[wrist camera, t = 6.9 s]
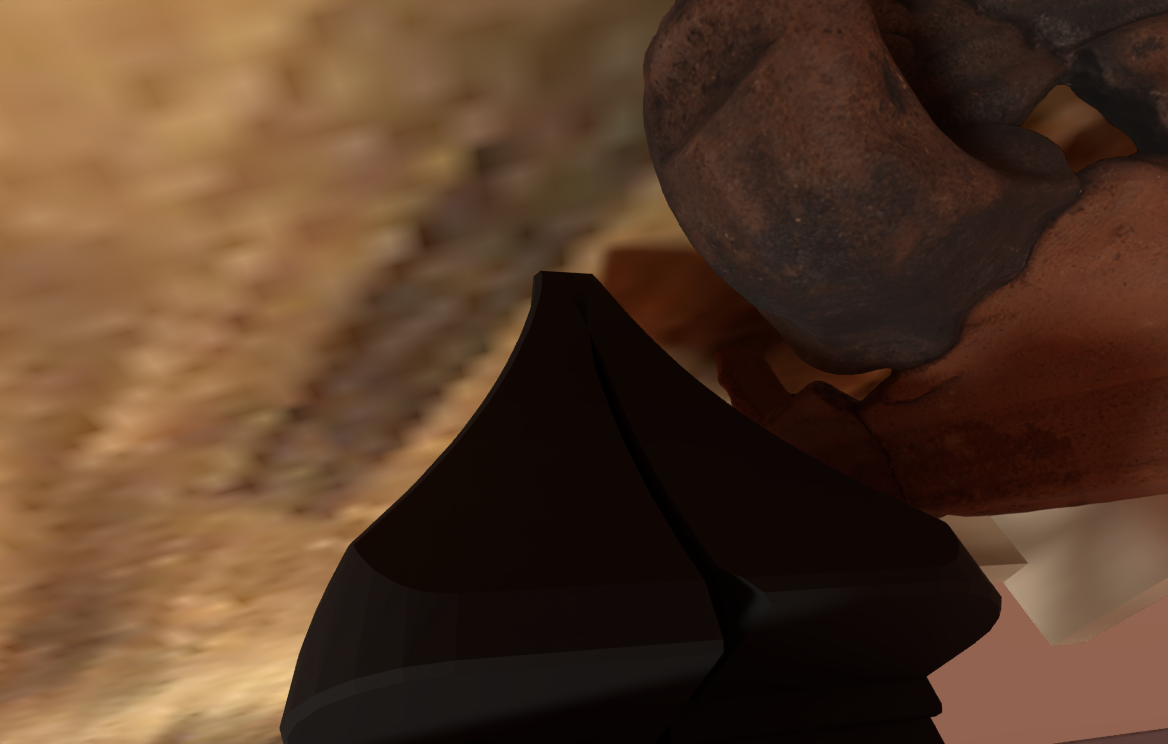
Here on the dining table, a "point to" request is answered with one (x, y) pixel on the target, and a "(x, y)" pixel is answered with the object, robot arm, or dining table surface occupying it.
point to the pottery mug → (933, 235)
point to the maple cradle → (1075, 562)
